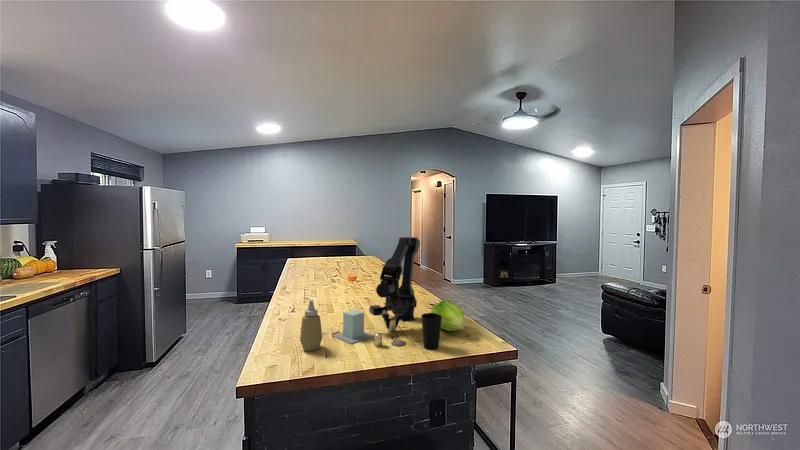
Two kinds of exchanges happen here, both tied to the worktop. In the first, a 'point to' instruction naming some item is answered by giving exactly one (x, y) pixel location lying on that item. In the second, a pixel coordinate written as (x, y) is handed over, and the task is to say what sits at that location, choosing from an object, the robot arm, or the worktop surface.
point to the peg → (392, 324)
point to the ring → (398, 343)
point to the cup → (431, 330)
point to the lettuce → (449, 315)
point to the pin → (378, 339)
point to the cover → (353, 324)
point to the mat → (352, 341)
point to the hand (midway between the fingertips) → (391, 328)
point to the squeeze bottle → (311, 329)
